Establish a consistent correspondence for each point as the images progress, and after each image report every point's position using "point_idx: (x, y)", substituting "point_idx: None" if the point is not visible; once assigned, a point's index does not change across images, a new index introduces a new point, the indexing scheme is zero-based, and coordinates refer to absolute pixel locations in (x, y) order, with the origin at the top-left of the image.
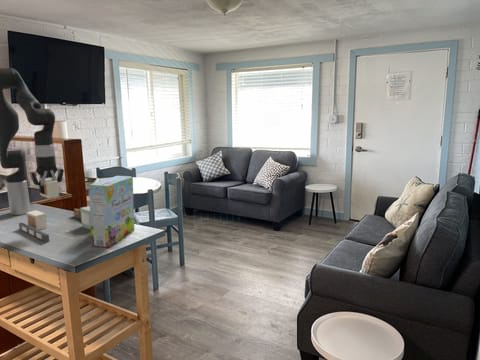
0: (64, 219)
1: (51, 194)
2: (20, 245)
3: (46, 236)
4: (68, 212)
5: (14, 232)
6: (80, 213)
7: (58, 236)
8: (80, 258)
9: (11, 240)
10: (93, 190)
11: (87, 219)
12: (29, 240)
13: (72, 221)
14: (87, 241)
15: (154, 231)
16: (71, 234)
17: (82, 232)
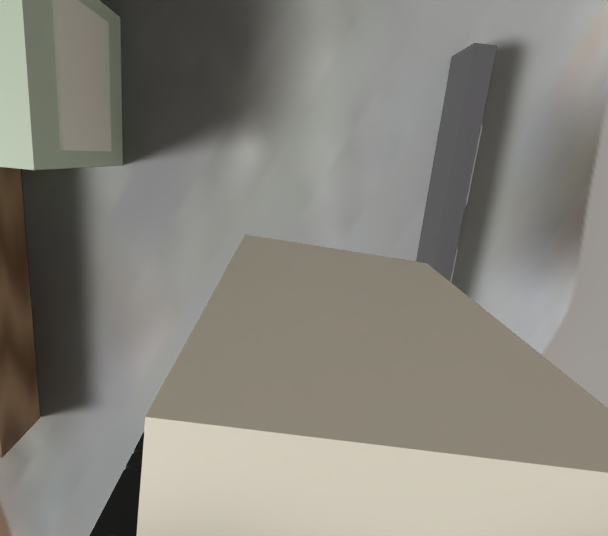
0: (123, 406)
1: (388, 271)
2: (579, 160)
3: (487, 47)
4: (27, 517)
5: None
6: (7, 353)
7: (352, 105)
8: None
9: (543, 294)
10: None
11: (85, 38)
12: (495, 201)
13: (109, 325)
14: None
15: None
16: (275, 59)
17: (199, 23)
